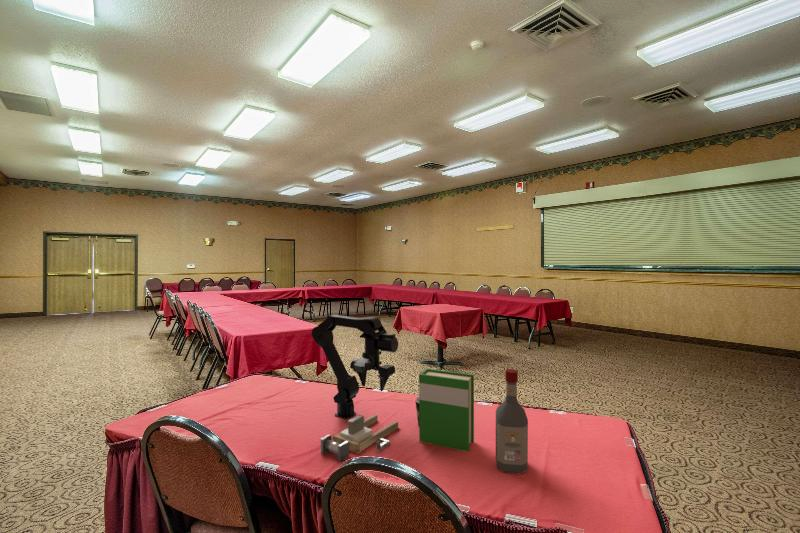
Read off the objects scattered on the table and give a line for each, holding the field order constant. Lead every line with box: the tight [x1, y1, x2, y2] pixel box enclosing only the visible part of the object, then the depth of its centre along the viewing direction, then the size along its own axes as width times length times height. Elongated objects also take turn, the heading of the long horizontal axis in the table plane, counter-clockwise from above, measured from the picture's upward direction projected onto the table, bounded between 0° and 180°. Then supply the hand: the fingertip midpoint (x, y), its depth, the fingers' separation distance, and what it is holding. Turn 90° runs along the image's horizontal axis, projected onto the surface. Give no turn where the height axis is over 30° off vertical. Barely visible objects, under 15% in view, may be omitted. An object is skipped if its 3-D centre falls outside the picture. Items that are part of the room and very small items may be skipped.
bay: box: [332, 413, 399, 454], centre depth 143 cm, size 11×23×3 cm, turn 144°
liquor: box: [495, 368, 529, 474], centre depth 122 cm, size 9×9×30 cm
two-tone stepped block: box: [339, 414, 373, 443], centre depth 138 cm, size 8×8×8 cm
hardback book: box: [418, 368, 475, 453], centre depth 137 cm, size 18×7×24 cm, turn 65°
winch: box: [320, 433, 350, 462], centre depth 129 cm, size 9×4×5 cm, turn 54°
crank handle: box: [375, 437, 390, 452], centre depth 135 cm, size 6×4×3 cm
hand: (372, 388), depth 154 cm, fingers open, 9 cm apart
